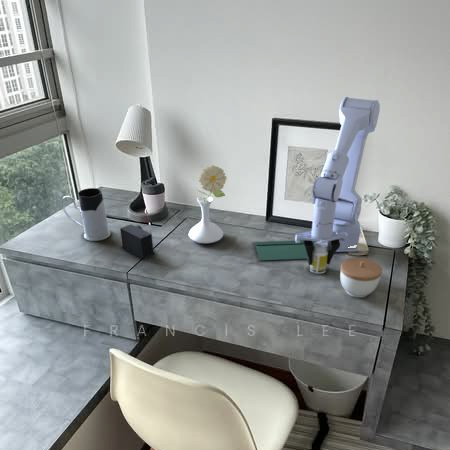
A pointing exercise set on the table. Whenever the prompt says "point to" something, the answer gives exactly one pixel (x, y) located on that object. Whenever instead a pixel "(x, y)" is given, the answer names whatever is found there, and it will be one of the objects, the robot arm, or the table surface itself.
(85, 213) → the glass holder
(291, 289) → the table surface
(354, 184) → the robot arm
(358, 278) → the trinket box
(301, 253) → the green board
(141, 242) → the digital camera
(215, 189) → the flower in vase
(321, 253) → the supplement bottle
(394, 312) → the table surface
